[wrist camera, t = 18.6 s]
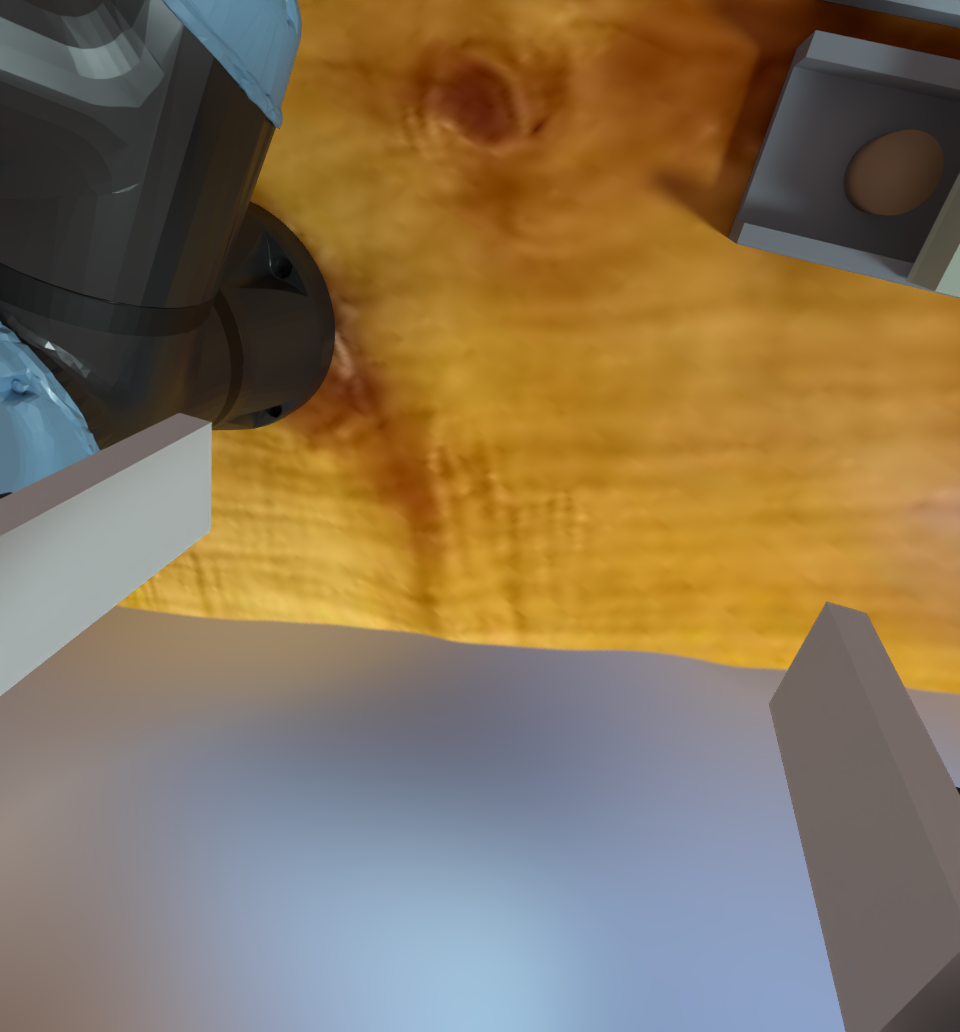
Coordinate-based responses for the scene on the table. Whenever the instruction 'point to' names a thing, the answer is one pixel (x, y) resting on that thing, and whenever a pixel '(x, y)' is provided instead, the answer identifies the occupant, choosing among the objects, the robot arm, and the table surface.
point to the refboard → (855, 157)
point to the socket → (913, 9)
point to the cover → (941, 250)
